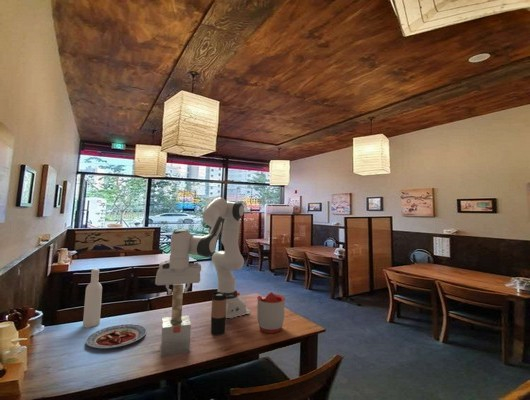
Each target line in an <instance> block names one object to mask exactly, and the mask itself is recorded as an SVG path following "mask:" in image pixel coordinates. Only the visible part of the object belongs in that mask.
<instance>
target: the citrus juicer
mask: <svg viewBox="0 0 530 400" xmlns="http://www.w3.org/2000/svg"><path fill="white" fill-rule="evenodd" d="M256 300H257V304H256V305H257V308H256V309H257V311H256V312H257V314H256V315H257V323H258V327H259V330H260V331H261V332H263V333H266V332H268V333H267V334H275V333H274V332H276V333H278V331H279V332H280V331H281V330H282V328H283V325H284V321H285V306H286V305H285V303H286V302H285V301H286V298H285V297H284V296H283V295H281V294H275V293H273V292H272V291H270V292H269V293H268V294H267V295H266V297H265V298H263V297H262V296H261V295H258V296H257V298H256Z"/></svg>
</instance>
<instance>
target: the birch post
mask: <svg viewBox="0 0 530 400" xmlns="http://www.w3.org/2000/svg"><path fill="white" fill-rule="evenodd" d="M183 296H184V284H172V302H171V303H172V304H171V316H170V317H171V324H172V323H181V322H182V316H183V315H182V314H183Z"/></svg>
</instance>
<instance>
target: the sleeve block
mask: <svg viewBox="0 0 530 400" xmlns="http://www.w3.org/2000/svg"><path fill="white" fill-rule="evenodd" d="M171 317H172V316H168V317H167V316H166V317H162V319H161V322H162V324H161V340H160V341H161V343H160V357H165V356H171V355H178V354H183V353H190V352H191V350H190V348H191V332H192V330H191V329H192V323H191V320H190V319H191V318H190V316H189V314H187V315H182V322H181V323H172V324H171Z"/></svg>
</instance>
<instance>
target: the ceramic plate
mask: <svg viewBox="0 0 530 400" xmlns="http://www.w3.org/2000/svg"><path fill="white" fill-rule="evenodd" d="M146 334H147V329H146V327H145V326H143V325H139V324H132V323H131V324H130V323H128V324H117V325H112V326H108V327H105V328H101V329H98V330H97V331H95V332H92V334H90V335H89V336H88V337H87V338H86V341H85V342H86V345H87V346H89V347H91V348H94V349H113V348H119V347H122V346H127V345H130V344H134V343H135V342H137V341H139V340H141V339H142V338H144V336H145V335H146Z"/></svg>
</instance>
